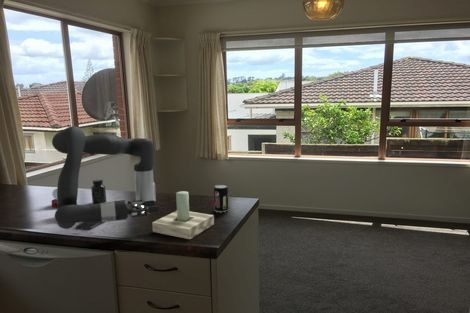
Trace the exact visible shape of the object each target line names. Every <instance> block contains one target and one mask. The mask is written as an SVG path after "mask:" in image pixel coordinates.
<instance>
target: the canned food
mask: <svg viewBox="0 0 470 313" xmlns="http://www.w3.org/2000/svg"><path fill="white" fill-rule="evenodd" d="M51 194H52V195H51V196H52V197H53V198H54V199H52V200H51V201H50V202H51V208H52V209H58V204H57V201H58V199H57V188H54V189H53V191H52V193H51Z"/></svg>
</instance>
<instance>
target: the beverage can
mask: <svg viewBox="0 0 470 313" xmlns="http://www.w3.org/2000/svg"><path fill="white" fill-rule="evenodd" d="M213 209H214V210H213V211H215V212H216V213H218V212H219V214H222V212H224V213H227V212H228V210H229V188H228V185H225V184H216V185H214V188H213ZM226 211H227V212H226Z"/></svg>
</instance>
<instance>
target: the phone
mask: <svg viewBox="0 0 470 313" xmlns="http://www.w3.org/2000/svg"><path fill="white" fill-rule="evenodd" d="M105 223H106V222H99V223H86V222H80V223H79V224H77V225H75V229H77V230H85V231H91V230H93V229H95V228H97V227H99V226H101V225H103V224H105Z"/></svg>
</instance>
